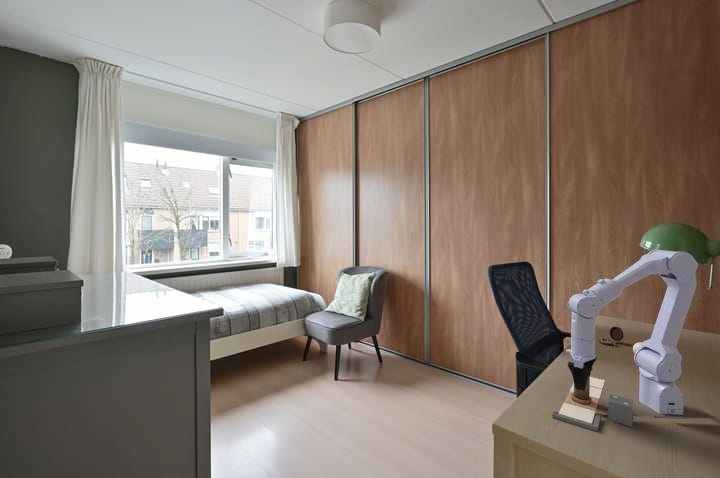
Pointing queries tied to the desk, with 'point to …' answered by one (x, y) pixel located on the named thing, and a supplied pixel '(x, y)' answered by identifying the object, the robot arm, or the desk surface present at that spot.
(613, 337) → the compass
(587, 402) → the pawn
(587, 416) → the board
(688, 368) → the desk surface
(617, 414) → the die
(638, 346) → the seamed sphere
